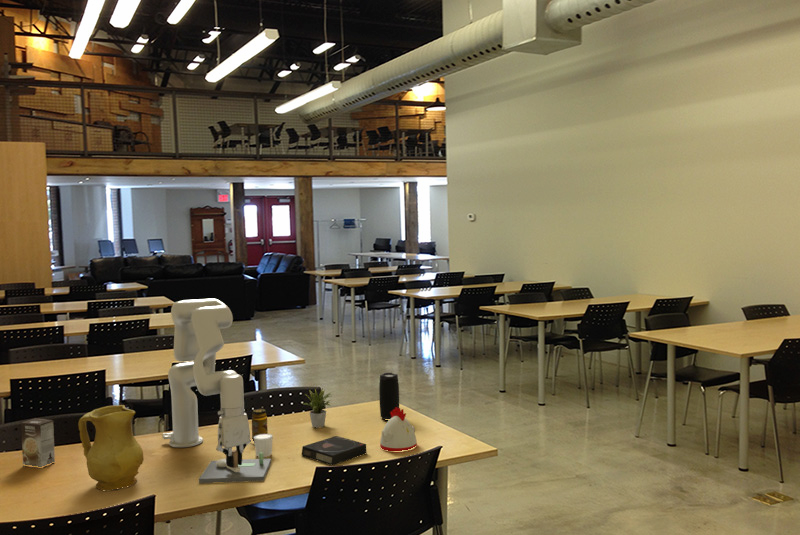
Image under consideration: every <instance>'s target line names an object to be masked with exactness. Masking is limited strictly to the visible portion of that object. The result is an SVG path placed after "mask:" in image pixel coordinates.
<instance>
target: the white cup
mask: <svg viewBox="0 0 800 535" xmlns="http://www.w3.org/2000/svg"><path fill="white" fill-rule="evenodd" d="M273 437H274V436H273V435H272V434H270V433H268V434H259V435H256V436H254V443H255V444H254V449H255V457H257V456H258V457H257V458H259V453H261V452H262V453H263V458H268V457H270V455H271V454H273V453H272V451H273ZM267 456H268V457H267ZM271 456H272V455H271Z"/></svg>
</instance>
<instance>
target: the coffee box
mask: <svg viewBox="0 0 800 535" xmlns="http://www.w3.org/2000/svg"><path fill="white" fill-rule="evenodd" d="M20 425H21V426H20V427H21V447H22V448H21V450H22V451H21V452H22V454H21V455H22V465H23V464H25V465H32V466H38V467H42V466H45V465H47V464H50V463H52V462H55V463H56V460H55V459H56V458H55V435H54V433H55V431H54V420H52V419H45V418H36V417H35V418H32V419H28V420H26V421H23V422H21V423H20Z"/></svg>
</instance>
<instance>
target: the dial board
mask: <svg viewBox="0 0 800 535" xmlns="http://www.w3.org/2000/svg"><path fill="white" fill-rule="evenodd" d="M218 460H219V459H218ZM218 460H211V461H209V464H208V466H206V468H205V469H204V470H203V471H202V472H203V473H202V474H201V475H200V476H199V478H198V484H214V483H213V482H225V483H245V481H250V482H264V480H265V478H266V476H267V474H268V472H269V470H270V467H271V464H272V458H264V457H263V453H262V452H261V453H259V457H258V458H250V459H249V458H247V459H243V458H242V465H238V467H239V468H240V472H234V471H232V470H230V469H229V468H227V467H217V463H216V462H217V461H218Z"/></svg>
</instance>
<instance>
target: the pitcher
mask: <svg viewBox="0 0 800 535" xmlns="http://www.w3.org/2000/svg"><path fill="white" fill-rule="evenodd" d="M135 414H136V411H135V410H133V409H129V408H126V406H125V405H124V404H118V405H116V404H115V405H107V406H103V407H99V408H95V409H93V410H92V411H90V412H87V413H85V414H84V415H83V416H82V417H80V418H79V420H78V424H77V425H78V430H79V437H80V441H81V445H82V448H83V455H84V457H85V459H86V468H87V472H88V475H89V477H90V479H93V480H94V481H95V482H97V483H95V487H96V488H97V490H100V489H101V490H100V491H103V490H112V489H117V488H121V489H123V488H122V487H125V488H128V487H127V486H129V487H131V486H133V485H135V484H136V483H137V482H138V480H137V478H136V476H137V475H139V473H140V472H139V469H140V467H141V465H142V464H143V462H144V451H143V449H142V447H141V445H140V443H139V442H138V440H136V438H135V436H134V434H133V430H132V418H133V417H134V416H135ZM87 422H91V423H92V425H93V426H94V429H95V436H94V441H93V443H92V444H91V440H90V436H89V433H88V430H87ZM130 485H131V486H130ZM112 491H113V490H112Z"/></svg>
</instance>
